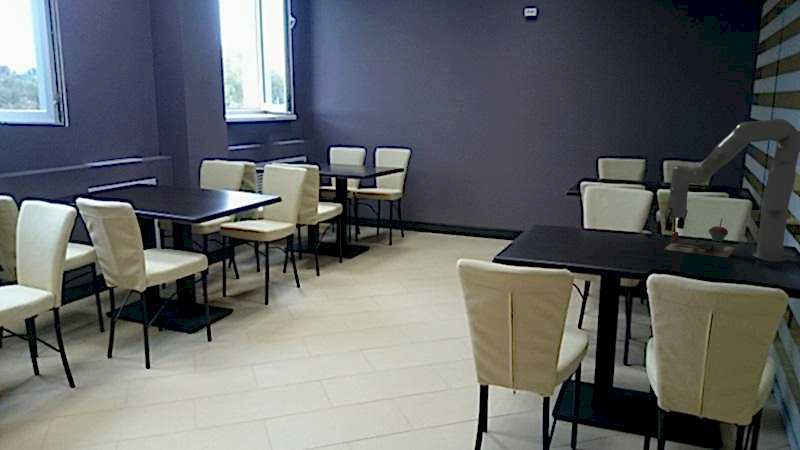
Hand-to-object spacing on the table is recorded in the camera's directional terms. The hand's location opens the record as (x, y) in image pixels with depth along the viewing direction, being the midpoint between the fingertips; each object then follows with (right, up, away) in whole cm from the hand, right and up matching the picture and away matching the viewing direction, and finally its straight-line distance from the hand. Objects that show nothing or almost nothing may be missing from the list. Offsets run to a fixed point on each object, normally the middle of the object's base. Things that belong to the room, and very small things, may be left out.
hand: (674, 229), depth 282 cm
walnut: (+8, -10, -13) cm, 18 cm away
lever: (+8, -8, -4) cm, 13 cm away
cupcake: (+29, -6, +17) cm, 35 cm away
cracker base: (+9, -10, -5) cm, 14 cm away
